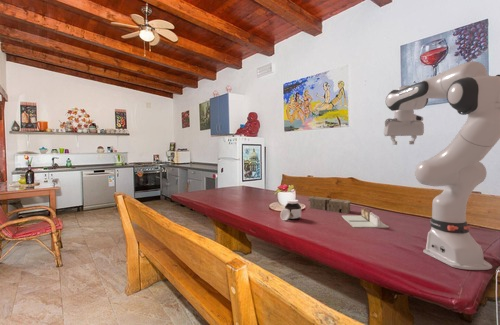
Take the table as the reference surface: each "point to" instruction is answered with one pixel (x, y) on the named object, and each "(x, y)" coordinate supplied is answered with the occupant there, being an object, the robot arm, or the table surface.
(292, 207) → the spread jar
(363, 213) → the fence fixed
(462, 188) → the robot arm
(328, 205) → the grey stone bar
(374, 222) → the fence gate
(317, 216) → the table surface
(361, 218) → the card
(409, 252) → the table surface
